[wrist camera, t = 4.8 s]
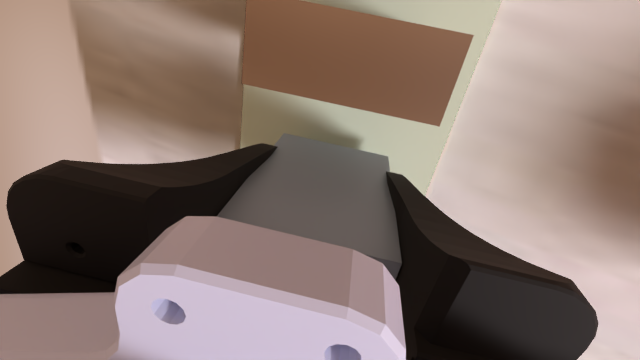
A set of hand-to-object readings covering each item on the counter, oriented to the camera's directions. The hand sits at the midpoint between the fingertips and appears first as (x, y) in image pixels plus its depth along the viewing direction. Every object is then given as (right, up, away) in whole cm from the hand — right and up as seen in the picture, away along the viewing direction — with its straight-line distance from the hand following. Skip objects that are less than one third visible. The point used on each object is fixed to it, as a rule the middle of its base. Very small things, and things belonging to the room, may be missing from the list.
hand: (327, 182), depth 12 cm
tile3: (+1, +5, 0) cm, 5 cm away
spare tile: (0, +1, +1) cm, 2 cm away
